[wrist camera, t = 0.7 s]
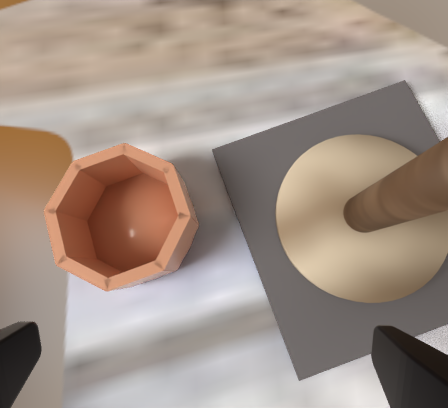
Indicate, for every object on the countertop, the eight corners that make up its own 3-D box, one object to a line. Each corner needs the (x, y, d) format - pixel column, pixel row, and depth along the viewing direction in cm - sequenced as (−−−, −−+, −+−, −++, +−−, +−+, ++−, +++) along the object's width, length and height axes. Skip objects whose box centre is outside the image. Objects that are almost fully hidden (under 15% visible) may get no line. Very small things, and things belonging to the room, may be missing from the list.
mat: (520, 293, 20) (526, 293, 20) (298, 378, 20) (299, 380, 19) (402, 83, 24) (404, 80, 23) (212, 151, 23) (212, 149, 23)
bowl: (211, 258, 22) (204, 255, 17) (101, 299, 21) (65, 306, 17) (176, 155, 23) (161, 129, 19) (74, 192, 23) (35, 174, 19)
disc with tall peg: (474, 266, 20) (798, 262, 8) (314, 326, 20) (420, 410, 8) (394, 119, 23) (560, -40, 11) (251, 171, 22) (264, 65, 11)
